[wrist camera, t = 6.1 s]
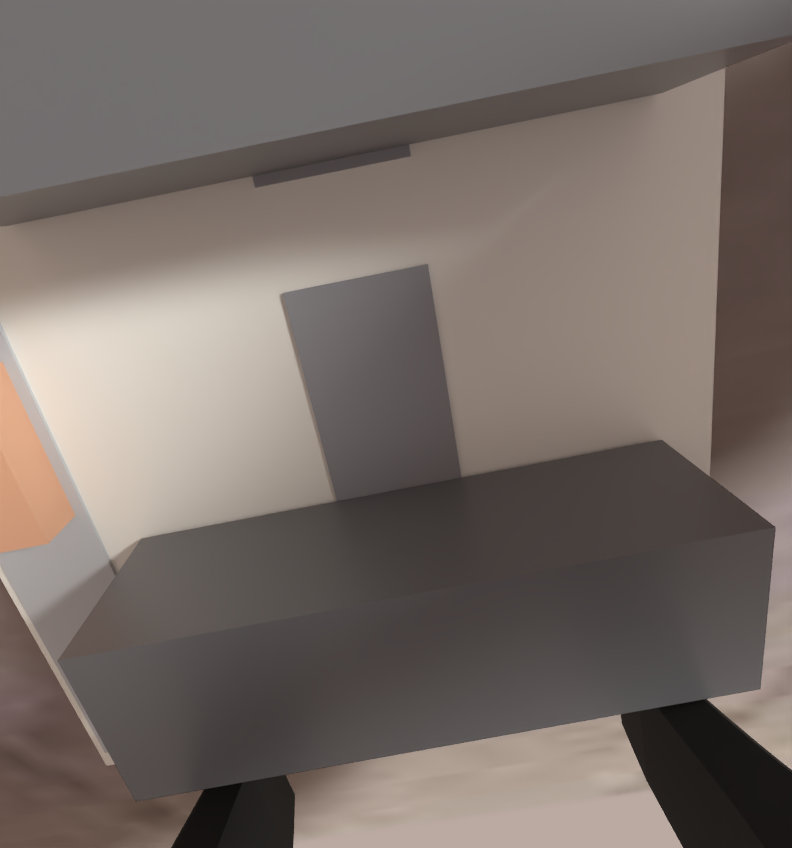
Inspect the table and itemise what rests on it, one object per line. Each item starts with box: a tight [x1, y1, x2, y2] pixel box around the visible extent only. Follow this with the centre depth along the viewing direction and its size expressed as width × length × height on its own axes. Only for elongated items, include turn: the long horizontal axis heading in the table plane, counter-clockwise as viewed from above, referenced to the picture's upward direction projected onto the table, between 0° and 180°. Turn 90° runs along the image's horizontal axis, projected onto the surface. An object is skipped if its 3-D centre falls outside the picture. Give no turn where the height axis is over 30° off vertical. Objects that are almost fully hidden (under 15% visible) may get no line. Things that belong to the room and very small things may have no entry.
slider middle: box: [0, 0, 792, 226], centre depth 6 cm, size 10×3×3 cm, turn 101°
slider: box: [58, 440, 775, 801], centre depth 9 cm, size 10×3×3 cm, turn 101°
